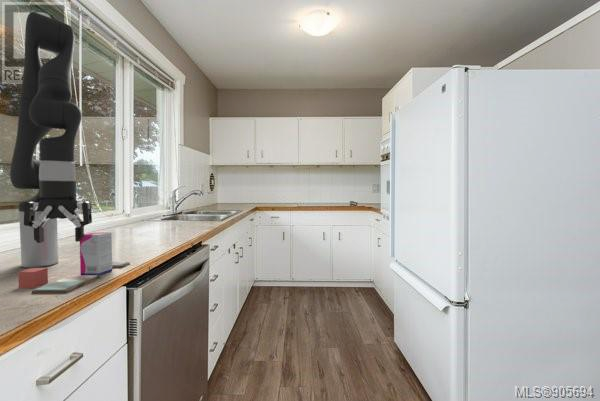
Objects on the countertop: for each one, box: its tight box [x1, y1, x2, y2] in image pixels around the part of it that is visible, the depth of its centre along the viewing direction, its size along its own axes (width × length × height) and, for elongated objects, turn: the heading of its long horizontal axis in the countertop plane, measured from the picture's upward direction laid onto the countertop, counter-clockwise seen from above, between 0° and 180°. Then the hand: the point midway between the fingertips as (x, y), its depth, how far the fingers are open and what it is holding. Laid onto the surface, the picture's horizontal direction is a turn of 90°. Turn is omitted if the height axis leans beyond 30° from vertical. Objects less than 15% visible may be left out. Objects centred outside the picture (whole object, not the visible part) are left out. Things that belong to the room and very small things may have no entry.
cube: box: [17, 267, 49, 289], centre depth 80 cm, size 4×4×4 cm
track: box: [31, 261, 131, 294], centre depth 88 cm, size 28×8×1 cm, turn 0°
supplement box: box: [79, 231, 113, 276], centre depth 91 cm, size 6×6×12 cm
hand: (59, 241), depth 83 cm, fingers open, 8 cm apart
